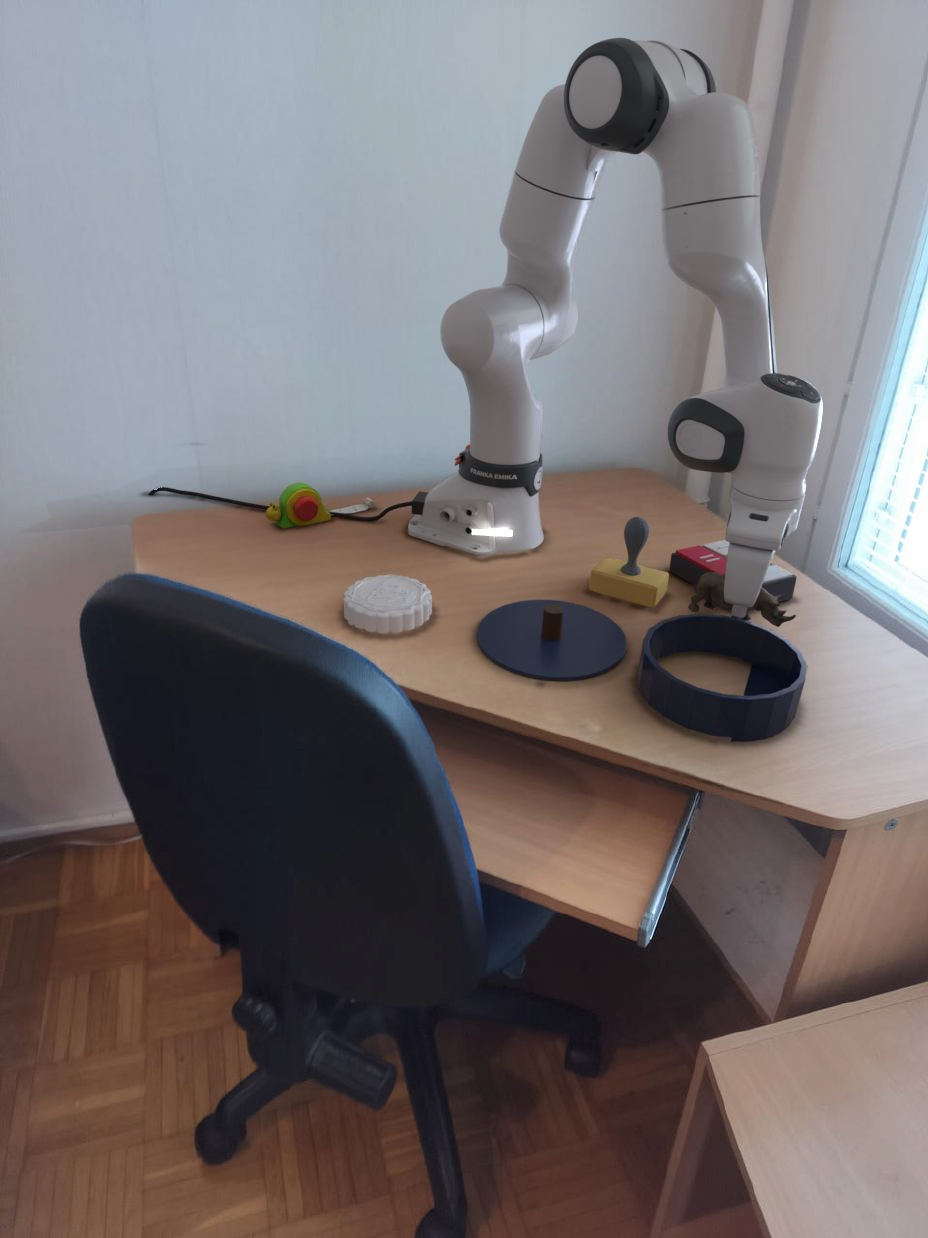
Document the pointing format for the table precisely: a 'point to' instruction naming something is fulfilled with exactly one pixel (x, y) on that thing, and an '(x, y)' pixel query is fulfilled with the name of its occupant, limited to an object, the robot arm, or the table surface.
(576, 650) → the pan lid
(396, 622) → the mooncake
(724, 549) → the calculator
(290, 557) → the table surface
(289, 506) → the toy measuring tape
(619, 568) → the rubber stamp
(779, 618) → the rhino figurine
